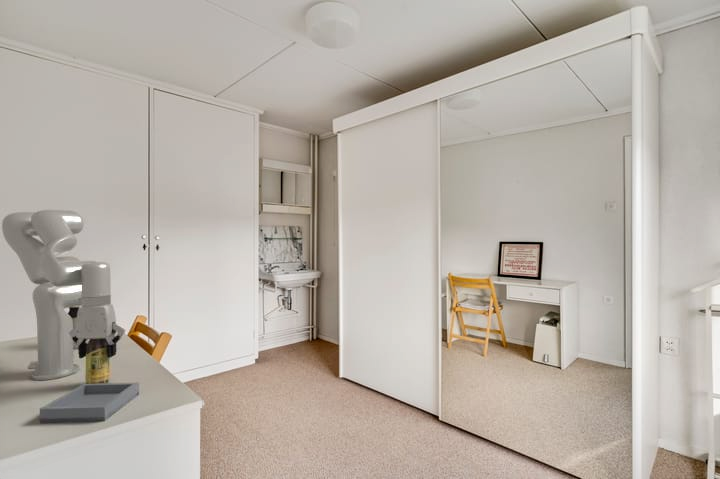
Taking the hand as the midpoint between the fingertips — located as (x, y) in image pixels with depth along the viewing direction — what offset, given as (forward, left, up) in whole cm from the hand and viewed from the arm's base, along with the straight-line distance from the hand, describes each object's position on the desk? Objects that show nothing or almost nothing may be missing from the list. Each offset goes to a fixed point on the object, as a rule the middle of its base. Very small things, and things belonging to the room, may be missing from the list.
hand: (97, 356), depth 119 cm
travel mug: (-35, +43, -9) cm, 56 cm away
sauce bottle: (0, 0, -9) cm, 9 cm away
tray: (+9, -16, -9) cm, 20 cm away
